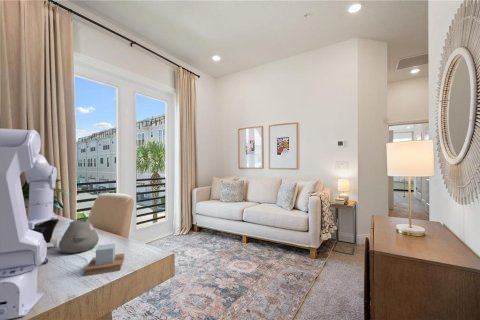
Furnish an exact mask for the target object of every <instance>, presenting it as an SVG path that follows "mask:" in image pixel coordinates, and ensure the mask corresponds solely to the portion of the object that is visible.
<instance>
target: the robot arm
mask: <svg viewBox="0 0 480 320" xmlns="http://www.w3.org/2000/svg"><path fill="white" fill-rule="evenodd" d="M41 141H42V139H41V135H40V133H38V131H36V130H35V129H29V130H28V129H17V128H16V129H15V128H0V320H11V319H15V318H17V319H18V318H22V317H25V316H26V315H27V314H28V313H29V312H30V311H31V310H32V309H33V308H34V306H35V305H36V304H37V303H38V302H39V301H40V299H41V298H42V297H43V296H44V295H45V293H44V292H38V268H39V266H42V265H41V264H42V263H43V262H44V260H45V258H47V252H48V244H50V243H49V242H50V240H51V237H52V234H53V231H54V232H55V229H56V226H57V224H58V223H59V218H58V215H56V213H55V212H54V195H55V194H54V192H55V191H54V189H55V188H56V183H57V182H56V181H57V177H58V168H57V167H55V166H53V165H50V163H49V162H48V160H47V158H46V157H45V156H44V155H42V154H41V153H40V152H41V146H42V142H41ZM23 173H24V176H25V178H26V179H25V180H26V184H28V185H29V188H28V189H29V190H28V215H27V211H26V205H25V199H24V194H23V189H22V182H21V177H20V176H21V174H23ZM47 243H48V244H47Z"/></svg>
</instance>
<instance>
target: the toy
mask: <svg viewBox="0 0 480 320" xmlns="http://www.w3.org/2000/svg"><path fill="white" fill-rule="evenodd" d="M82 215H83V219H82V218H81V219H75V220H72V221H70V222H69V225H68V227H67V228H66V230H65V232H64V233H63V235H62V237H61V239H60V240H59V243H58V248H59V250H60V251H61V252H64V253H65V254H66V253H67V254H77V253H82V252H86V251H88V250H89V251H90V250H91V249H93V248H94V247H96V246H97V244H98V242H99V238H100V237H99V235H98V233H97V231H96V229H95V228H94V226H93V224H92V223H91V222H90V221H89V220H87V216H86V214H85V212H82Z"/></svg>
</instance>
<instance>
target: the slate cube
mask: <svg viewBox="0 0 480 320" xmlns="http://www.w3.org/2000/svg"><path fill="white" fill-rule="evenodd" d="M115 255H116V243H108V244H100V245H99V244H98V246H97V248H96V249H95V257H96V266H97V265H104V264H110V263H113V261H114V259H115Z"/></svg>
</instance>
